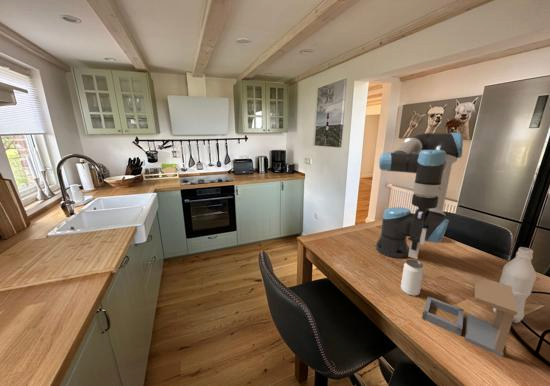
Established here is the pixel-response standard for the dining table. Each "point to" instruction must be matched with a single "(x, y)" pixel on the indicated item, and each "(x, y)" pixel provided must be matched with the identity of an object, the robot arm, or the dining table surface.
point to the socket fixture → (476, 328)
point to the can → (412, 277)
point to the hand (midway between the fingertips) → (416, 250)
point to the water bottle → (519, 279)
